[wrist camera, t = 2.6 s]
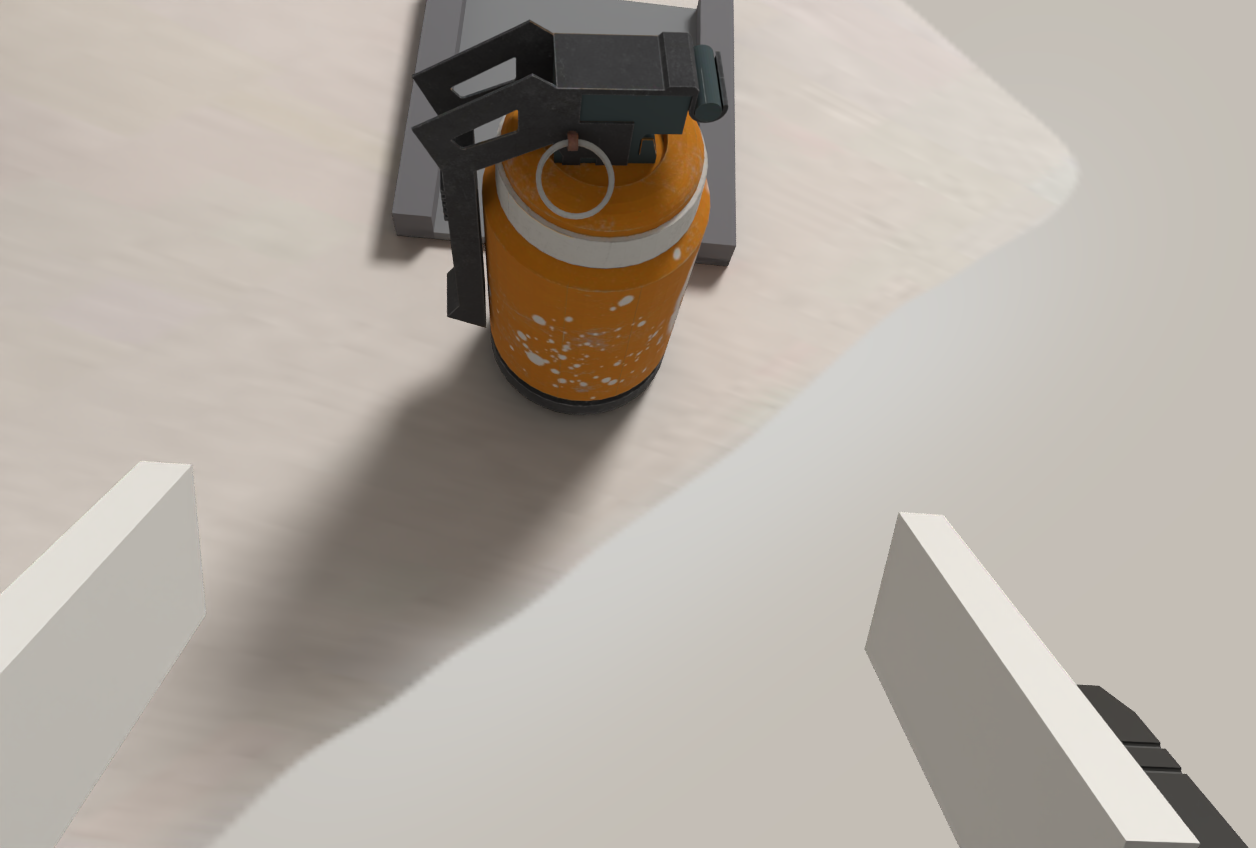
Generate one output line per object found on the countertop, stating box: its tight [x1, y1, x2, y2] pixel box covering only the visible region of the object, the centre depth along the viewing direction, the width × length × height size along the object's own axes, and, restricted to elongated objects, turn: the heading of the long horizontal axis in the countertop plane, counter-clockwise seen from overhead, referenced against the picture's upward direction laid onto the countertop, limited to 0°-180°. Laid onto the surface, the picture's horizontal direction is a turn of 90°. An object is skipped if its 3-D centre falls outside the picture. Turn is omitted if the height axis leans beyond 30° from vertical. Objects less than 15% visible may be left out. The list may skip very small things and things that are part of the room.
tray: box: [392, 0, 736, 266], centre depth 51 cm, size 18×18×2 cm
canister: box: [411, 19, 728, 415], centre depth 37 cm, size 9×11×20 cm
